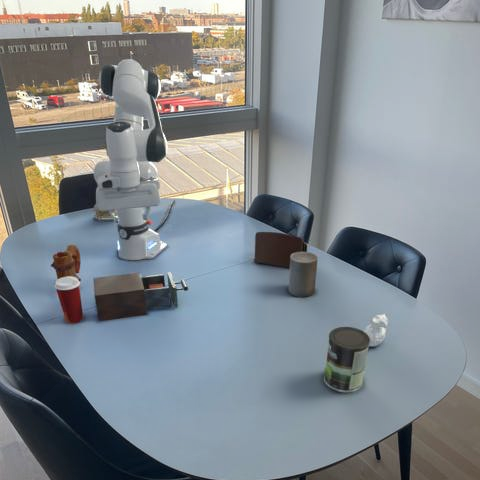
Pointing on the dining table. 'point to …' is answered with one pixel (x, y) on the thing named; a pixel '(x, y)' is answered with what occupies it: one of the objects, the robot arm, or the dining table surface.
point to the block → (155, 286)
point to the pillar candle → (302, 274)
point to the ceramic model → (103, 214)
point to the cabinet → (119, 296)
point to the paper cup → (70, 298)
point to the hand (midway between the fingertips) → (131, 220)
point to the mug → (67, 262)
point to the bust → (377, 330)
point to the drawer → (161, 291)
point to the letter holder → (277, 248)
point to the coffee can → (346, 359)
